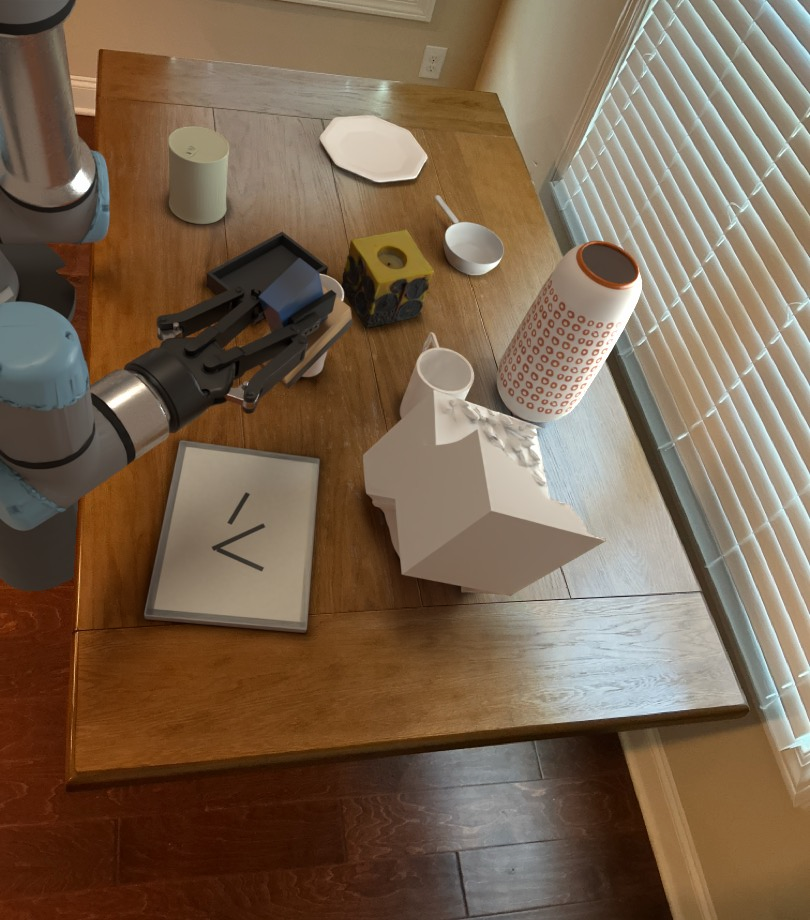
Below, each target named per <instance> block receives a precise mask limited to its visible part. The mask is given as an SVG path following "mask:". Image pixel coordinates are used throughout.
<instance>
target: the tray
mask: <svg viewBox="0 0 810 920" xmlns="http://www.w3.org/2000/svg"><path fill="white" fill-rule="evenodd" d="M298 258H301V259H302V260H303V261H305V262H306V263H307V264H308V265H310V266H311V267H312V268H314V269H315V270H316V271H317V272H319V274H324V275H327V276H328V270H329V266H328V265H327V264H325V263H324V262H323V261H322V260H320V259H319V258H318V257H316V256H315V255H314V254H313V253H311V252H310V251H308V250H307V249H306V248H305V247H304V246H302V245H301V244H299V243H298V242H297V241H296V240H294V239H293V238H291V237H290V236H289V235H288V234H286V232H284V231H280V232H279V233H277V234H275V235H273V236H271V237H270V238H268V239H266V240H263V241H262V242H260V243H258V244H257V245H255V246H253V247H251V248H249V249H247V250H246V251H244V252H242V253H240V254H238V255H237V256H235V257H233V258H231V259H229V260H227V261H226V262H224V263H222V264H220V265H219V266H217V267H214V268H213V269H211V270H209V271H208V272H206V284H205V285H206V287H208V288H209V289H210V290H211V291H213V292H214V293H215V294H216V295H219V294H221V293H223V292H225V291H227V290H229V289H232V288H234V287H237V286H238V287H242V288H243V289H244V292H245V293H247V294H250V295H251V289H254V288H257V289H260V290H261V291H264V290H265V289H267V288H268V287H269V286H270V285H271V284H272V283H273V282H274V281H275V280H276V279H277V278H278V277H279V276H281V275H282V274H283V273H284V272H285V271H286V270H287V269H288V268H289V267H290V266H291V265H292V264H293V263H294V262H295V261H296V260H297V259H298ZM263 319H265V317H263V316H262V312H261V313H260V315H259V317H258V318H257V319H256V320H255V321H253V322H252V323H251V324H253V325H255V324H257V323H259V322H260V321H261V320H263Z"/></svg>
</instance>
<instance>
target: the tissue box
mask: <svg viewBox="0 0 810 920" xmlns="http://www.w3.org/2000/svg"><path fill="white" fill-rule="evenodd" d="M537 429H545V427H541V426H539V425H536V424H535V423H532V422H529V421H526V420H523V419H520V418H518V417H517V418H516V417H514V416H511V415H508V414H504V413H502V412H499V411H494V410H492V409H489V408H487V407H485V406H482V405H479V404H476V403H473V402H470V401H467V400H462V399H459V398H456V397H453V396H450V395H447V394H444V393H441V392H438V391H436V390H433V391H431V392H430V393H429V394H428V395H427V396H426V397H425V398H424V399H423V400H422V401H421V402H420V403H419V404H417V405H416V406H415V407H414V408H413V409H412V410H411V411H410V412H409V413H408V414H407V415H406V416H405V417H403V418H401V419H400V420H399V421H398V422H397V423H396V424H394V425H393V427H391V429H389V430H388V431H387V432H386V433H384V435H383V436H382V437H380V439H378V441H377V442H375V443H374V444H373V445H372V446H371V447H370V448H369V449H368V450H366V452H364V453H363V455H362V461H363V464H362V465H363V476H364V477H363V478H364V487H365V494H366V495H367V496H368V497H370V498H371V499H372V502H371V503H372V505H373V506H374V507H377V508H379V509H380V510H381V511H382V512H383V513H384V517H385V521H386V524H387V526H388V529H389V534H390V539H391V543H392V546H393V549H394V550H395V552H396V553H397V556H398V557H399V559H400V570H401V575H402V576H406V577H411V578H412V577H413V578H418V579H423V580H427V581H433V582H439V583H444V584H447V585H454V586H458V587H459V586H460V592H461V593H473V594H490V595H504V596H510V597H511V596H513V595H515V594H516V593H518V592H520V591H521V590H523V589H526V587H529V586H530V585H532V584H534V583H535V582H537V581H539V580H541V579H542V578H544V577H546V576H548V575H550V574H551V573H553V572H555V571H556V570H558V569H560V568H562V567H564V566H565V565H566V564H569V563H571V562H572V561H573V560H575V559H577V558H579V557H581V556H582V555H583V556H584V554H586V553H588V552H590V551H591V550H592V549H595V548H596V547H598V546H601V545H602V544H603V543H605V542H607V539H606V537H603V536H602V537H601V536H595V535H593V534H592V533H590V532H589V531H588V530H587V526H586V525H585V524H584V523H583V519H582V518H581V517H580V516H579V514H578V513H577V512H576V511H575V509H573V508H572V504H571V503H567V502H560V501H559V500H557V499H553V498H551V495H550V491H549V487H548V482H547V477H546V470H545V469H544V462H543V456H542V452H541V447H540V442H539V435H538V433H537V432H538V431H537Z"/></svg>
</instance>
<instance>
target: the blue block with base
mask: <svg viewBox="0 0 810 920" xmlns="http://www.w3.org/2000/svg"><path fill="white" fill-rule="evenodd" d="M328 291H329V290H327V289H326V288H325V287H324V286H322V284H321V279H320V274H319V272H317V271H316V270H315V269H314V268H312V267H311V266H310V265H308V264H307V263H306V262H305V261H303V260H302V259H301V258H298V259H297V260H296V261H295V262H294V263H293V264H292V265H291V266H290V267H289V268H288V269H287V270H286V271H285V272H284V273H283V274H282V275H281V276H279V277H278V278H277V279H276V280H275V281H274V282H273V283H272V284H271V285H270V286H269V287H268V288H267V289H266V290H265V291H264V292H263V293H262V294H261V295H260V296H259V300H260V303H261V305H262V308H263V311H264V313H265V316H266V318H265V320H266V322H267V324H268V327H269V329H268V331H266V332H265V333H264V335H262V337H264V336H266V335H268V334H270V333H273V332H275V331H277V330H279V329H281V328H283V327H286V326H288V321H289V317H290V316H291V315H293V314H295V313H296V312H298V311H299V310H301V309H302V308H304V307H305V306H307V305H309V304H310V303H312V302H313V301H315V300H316V299H318V298H319V297H321V296H323V295H324V294H325V293H327V292H328ZM352 316H353V315H352V308H351V307H350V306H349V305H348V304H347V303H346V302H344V300H343V301H341V300H340V299H339V298H338V297H336V298H335V303H334V307H333V312H331V313H330V314H328V315H327V316H325V317H324V318H322V319H321V320H320V324H319V327H318V329H317V330H316V331H315V332H313V333H312V334H310V335H309V336H307V337H306V338H305V339H306V340H307V341H308V344H307V349H306V355H305V359H304V361H303V362H301V363H300V364H299V365H298V366H297V367H296V368H295V369H293V370H292V371H291V372H290V373H289V374H288V375H287V376H285V377H284V378H283V379H282V380H281V381H280V382H279V383H280V384H281V385H282V386H283V387H284V388H286V389H287V390H290V389H291V388H292V386H294V385H295V383H297V382H298V380H299V379H301V378H302V375H303V374H304V373H305V372H306V371H307V370H308V369H309V368H310V367H311V366H312V365H313V364H314V363H315V362H316V361H317V360H318V359H319V358H320V357H321V356H322V355H323V354H324V353H325V352H326V351H327V350H328V351H329V349H330V348H331V347H332V346H333V345H334V344H335V343H336V342H337V341H338V340H339V339H340V338H341V337H342V336H343V335H344V334H345V333H346V332H347V331H348V330H349V329H350V328H351V327H352V326H353V325H354V323H353V317H352ZM271 360H272V359H271ZM271 360H269V361H267V362H265V363H263V364H260V365H259V367H260V368H263V367H264V366H265V365H266V364H267V363H269V362H270V361H271Z"/></svg>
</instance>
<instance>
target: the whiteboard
mask: <svg viewBox="0 0 810 920" xmlns="http://www.w3.org/2000/svg"><path fill="white" fill-rule="evenodd" d="M320 460H321V459H320V458H317V457H310V456H303V455H294V454H288V453H287V454H286V453H279V452H272V451H266V450H265V451H264V450H257V449H249V448H241V447H234V446H226V445H219V444H213V443H212V444H211V443H204V442H197V441H190V440H181V439H180V441H179V443H178V448H177V452H176V458H175V462H174V467H173V472H172V477H171V482H170V487H169V492H168V495H167V501H166V506H165V511H164V516H163V521H162V525H161V531H160V535H159V539H158V545H157V549H156V554H155V559H154V563H153V569H152V574H151V579H150V583H149V588H148V593H147V597H146V603H145V606H144V607H145V608H144V612H143V618H144V619H145V620H152V621H163V622H174V623H185V624H198V625H208V626H220V627H221V626H222V627H230V628H231V627H234V628H244V629H256V630H268V631H277V632H289V633H301V634H302V633H303V634H305V633H306V632H307V630H308V623H309V622H308V621H309V609H310V608H309V607H310V594H311V593H310V592H311V581H312V569H313V567H312V566H313V555H314V553H313V552H314V542H315V541H314V540H315V529H316V527H315V525H316V513H317V502H318V501H317V499H318V488H319V475H320Z"/></svg>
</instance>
